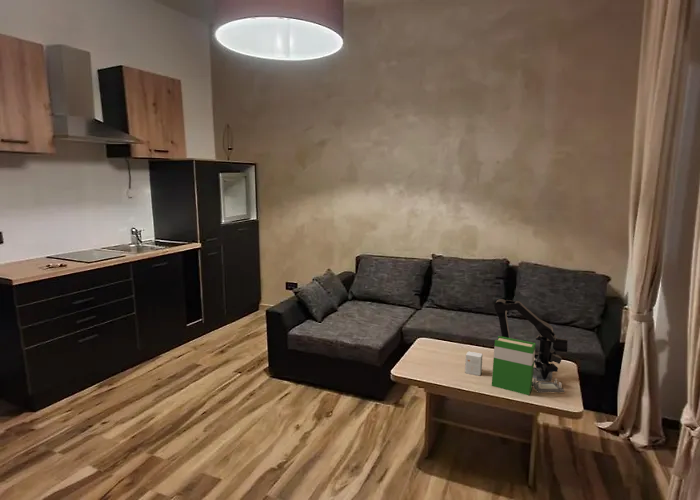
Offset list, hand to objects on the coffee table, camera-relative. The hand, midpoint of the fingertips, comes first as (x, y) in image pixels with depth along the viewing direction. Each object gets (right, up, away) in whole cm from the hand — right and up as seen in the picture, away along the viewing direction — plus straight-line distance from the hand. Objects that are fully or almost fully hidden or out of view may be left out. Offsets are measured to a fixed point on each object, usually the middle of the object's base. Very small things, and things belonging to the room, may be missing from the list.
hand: (542, 377), depth 226 cm
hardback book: (-20, -3, -10) cm, 22 cm away
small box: (-34, 0, +7) cm, 35 cm away
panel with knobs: (-2, -3, -10) cm, 10 cm away
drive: (0, -1, 0) cm, 1 cm away
